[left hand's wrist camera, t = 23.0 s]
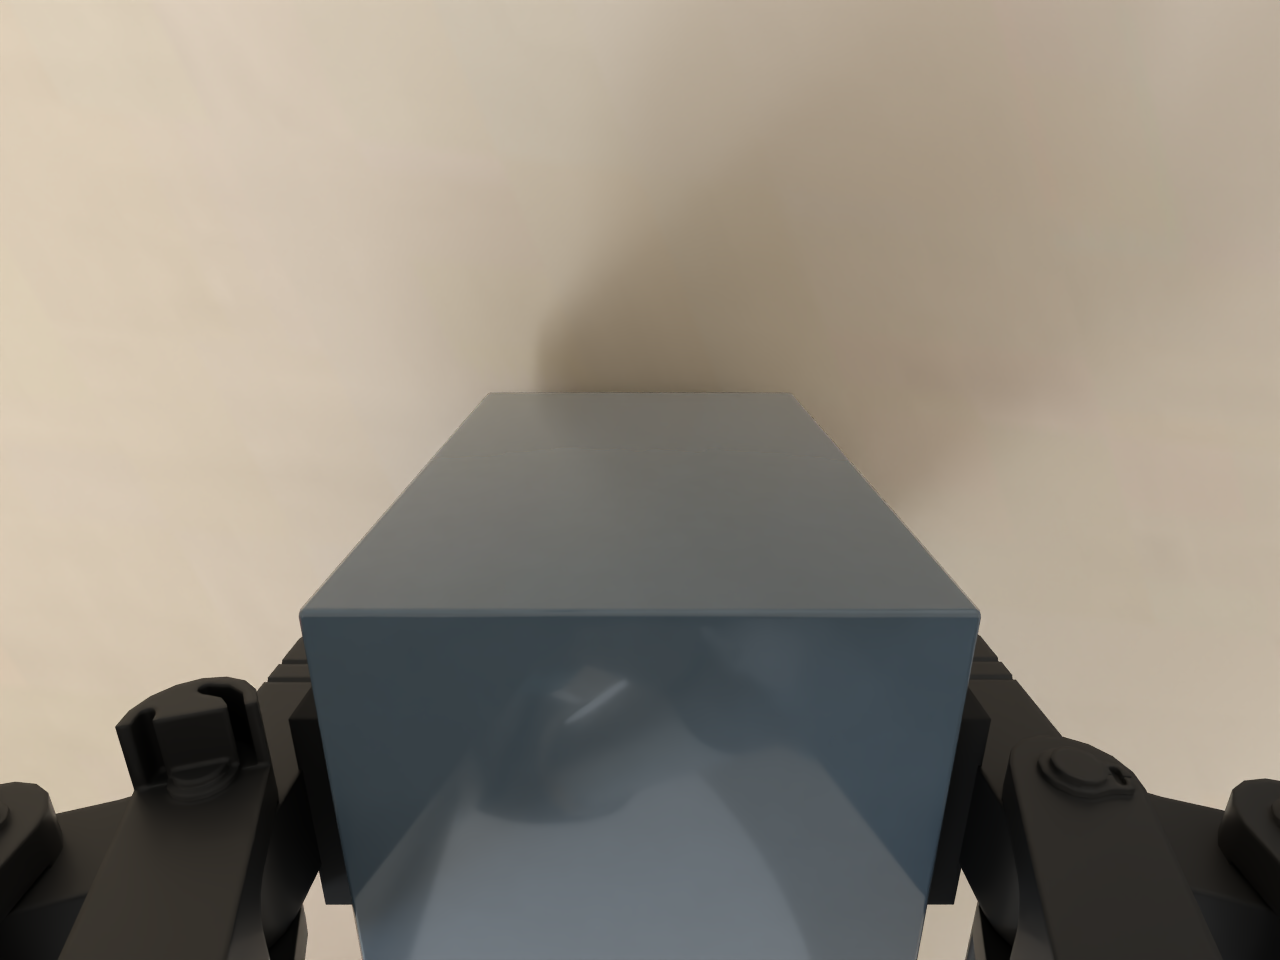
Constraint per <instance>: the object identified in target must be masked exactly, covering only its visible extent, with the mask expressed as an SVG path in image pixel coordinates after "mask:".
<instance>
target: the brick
mask: <svg viewBox="0 0 1280 960" xmlns="http://www.w3.org/2000/svg"><path fill="white" fill-rule="evenodd" d="M980 619H981V614H980V611H979V609H978V608H977V607H976V605H975V604H974V603H973V602H972V601H971V600H970V599H969V597H968V596H967V595H966V594H965V593H964V592H963V590H962V589H961V588H960V587H959V586H958V585H957V584H956V582H955V581H954V580H953V579H952V578H951V577H950V575H949V574H948V573H947V572H946V571H945V570H944V569H943V567H942V566H941V565H940V564H939V563H938V562H937V560H936V559H935V558H934V557H933V556H932V555H931V554H930V552H929V551H928V550H927V549H926V548H925V547H924V545H923V544H922V543H921V542H920V541H919V540H918V539H917V537H916V536H915V535H914V534H913V533H912V532H911V530H910V529H909V528H908V527H907V526H906V525H905V524H904V522H903V521H902V520H901V519H900V518H899V517H898V515H897V514H896V513H895V512H894V511H893V510H892V509H891V507H890V506H889V505H888V504H887V503H886V502H885V501H884V499H883V498H882V497H881V496H880V495H879V494H878V492H877V491H876V490H875V489H874V488H873V487H872V486H871V484H870V483H869V482H868V481H867V480H866V479H865V477H864V476H863V475H862V474H861V473H860V472H859V471H858V469H857V468H856V467H855V466H854V465H853V464H852V462H851V461H850V460H849V459H848V458H847V457H846V456H845V454H844V453H843V452H842V451H841V450H840V449H839V447H838V446H837V445H836V444H835V443H834V442H833V441H832V439H831V438H830V437H829V436H828V435H827V434H826V432H825V431H824V430H823V429H822V428H821V427H820V426H819V424H818V423H817V422H816V421H815V420H814V419H813V417H812V416H811V415H810V414H809V413H808V412H807V411H806V409H805V408H804V407H803V406H802V405H801V404H800V402H799V401H798V400H797V399H796V398H795V397H794V396H793V394H791V393H488V394H487V395H486V397H485V398H484V399H483V400H482V401H481V402H480V403H479V405H478V406H477V407H476V408H475V409H474V410H473V411H472V413H471V414H470V415H469V416H468V417H467V418H466V420H465V421H464V422H463V423H462V424H461V425H460V426H459V428H458V429H457V430H456V431H455V432H454V433H453V434H452V436H451V437H450V438H449V439H448V440H447V441H446V442H445V444H444V445H443V446H442V447H441V448H440V449H439V451H438V452H437V453H436V454H435V455H434V456H433V457H432V459H431V460H430V461H429V462H428V463H427V464H426V465H425V467H424V468H423V469H422V470H421V471H420V472H419V474H418V475H417V476H416V477H415V478H414V479H413V480H412V482H411V483H410V484H409V485H408V486H407V487H406V488H405V490H404V491H403V492H402V493H401V494H400V495H399V497H398V498H397V499H396V500H395V501H394V502H393V503H392V505H391V506H390V507H389V508H388V509H387V510H386V511H385V513H384V514H383V515H382V516H381V517H380V518H379V520H378V521H377V522H376V523H375V524H374V525H373V526H372V528H371V529H370V530H369V531H368V532H367V533H366V534H365V536H364V537H363V538H362V539H361V540H360V541H359V542H358V544H357V545H356V546H355V547H354V548H353V549H352V551H351V552H350V553H349V554H348V555H347V556H346V557H345V559H344V560H343V561H342V562H341V563H340V564H339V565H338V567H337V568H336V569H335V570H334V571H333V572H332V574H331V575H330V576H329V577H328V578H327V579H326V580H325V582H324V583H323V584H322V585H321V586H320V587H319V588H318V590H317V591H316V592H315V593H314V594H313V595H312V597H311V598H310V599H309V600H308V601H307V602H306V603H305V605H304V606H303V607H302V608H301V609H300V612H299V620H300V626H301V631H302V636H303V642H304V647H305V653H306V658H307V664H308V669H309V674H310V680H311V685H312V691H313V696H314V701H315V707H316V712H317V718H318V723H319V729H320V734H321V739H322V745H323V750H324V756H325V761H326V766H327V772H328V777H329V783H330V788H331V793H332V799H333V804H334V810H335V815H336V821H337V826H338V831H339V837H340V842H341V848H342V853H343V858H344V864H345V869H346V875H347V880H348V886H349V891H350V896H351V902H352V907H353V913H354V918H355V923H356V929H357V934H358V940H359V945H360V950H361V956H362V960H917V957H918V952H919V946H920V941H921V936H922V930H923V925H924V920H925V914H926V909H927V903H928V898H929V893H930V887H931V882H932V877H933V871H934V866H935V860H936V855H937V850H938V844H939V839H940V834H941V828H942V823H943V818H944V812H945V807H946V801H947V796H948V791H949V785H950V780H951V775H952V769H953V764H954V758H955V753H956V748H957V742H958V737H959V732H960V726H961V721H962V716H963V710H964V705H965V699H966V694H967V689H968V683H969V678H970V673H971V667H972V662H973V657H974V651H975V646H976V640H977V635H978V630H979V624H980Z"/></svg>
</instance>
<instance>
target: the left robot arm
mask: <svg viewBox="0 0 1280 960" xmlns="http://www.w3.org/2000/svg"><path fill="white" fill-rule="evenodd" d="M115 728H116V731H117V735H118V738H119V741H120V745H121V748H122V751H123V754H124V758H125V761H126V764H127V768H128V771H129V774H130V777H131V781H132V784H133V787H134V793H133V795H132V796H131V797H127V798H124V799H121V800H117V801H112V802H108V803H103V804H99V805H94V806H90V807H85V808H81V809H76V810H72V811H67V812H62V813H58V814H55V811H54V808H53V805H52V802H51V800H50V797H49V794H48V792H46V791H45V790H44V789H42V788H41V787H40V786H38V785H37V784H31V783H22V782H11V783H5V784H0V960H305V953H306V945H307V937H308V931H307V924H306V917H305V912H304V907H303V901H304V899H305V897H306V895H307V893H308V891H309V889H310V887H311V885H312V883H313V881H314V879H315V877H316V875H317V873H318V871H319V873H320V878H321V883H322V888H323V893H324V898H325V903H326V905H352V902H351V896H350V891H349V886H348V880H347V875H346V869H345V864H344V858H343V853H342V848H341V842H340V837H339V831H338V826H337V821H336V815H335V810H334V804H333V799H332V793H331V788H330V783H329V777H328V772H327V766H326V761H325V756H324V750H323V745H322V739H321V734H320V729H319V723H318V718H317V712H316V707H315V701H314V696H313V691H312V685H311V680H310V674H309V669H308V664H307V658H306V653H305V647H304V642H303V637H301V638H300V639H299V640H298V641H297V642H296V644H295V645H294V646H293V647H292V649H291V650H290V651H289V652H288V654H287V655H286V656H285V657H284V659H283V660H282V664H279V665H278V666H277V667H276V668H275V670H274V671H273V672H272V673H271V675H270V676H269V677H268V682H264V683H263V684H262V686H261V687H260V688H259V689H258V691H257V692H256V689H255V688H254V687H253V686H251V685H250V684H249V683H248V682H246V681H245V680H240V679H235V678H230V677H215V678H202V679H198V680H194V681H190V682H186V683H182V684H178V685H175V686H173V687H171V688H168V689H166V690H164V691H161V692H159V693H157V694H155V695H152V696H150V697H149V698H147V699H146V700H144V701H143V702H141V703H140V704H138V705H137V706H135V707H134V708H132V709H131V710H129V711H128V713H127V714H126V715H125V716H124V717H123V718H122V720H121V721H120V722H119V723H118V724H117V725H116V726H115ZM961 868H962V870H963V872H964V874H965V876H966V878H967V880H968V882H969V884H970V886H971V888H972V890H973V892H974V894H975V896H976V898H977V900H978V903H977V907H976V912H975V917H974V921H973V926H972V930H971V935H970V940H969V944H968V949H967V953H966V958H965V960H1280V781H1277V780H1271V779H1256V780H1246V781H1243V782H1242V783H1240V784H1239V785H1238V786H1236V787H1235V788H1234V789H1233V790H1232V792H1231V795H1230V798H1229V801H1228V804H1227V806H1226V809H1225V811H1223V810H1219V809H1214V808H1210V807H1205V806H1201V805H1196V804H1192V803H1187V802H1182V801H1178V800H1173V799H1169V798H1164V797H1160V796H1157V795H1153V794H1150V793H1147V791H1146V789H1145V788H1144V787H1143V785H1142V784H1141V782H1140V781H1139V780H1138V778H1137V777H1136V776H1135V774H1134V773H1133V772H1132V771H1131V770H1130V769H1128V768H1127V767H1126V766H1124V765H1123V764H1122V763H1121V762H1119V761H1118V760H1117V759H1115V758H1114V757H1113V756H1111V755H1109V754H1107V753H1105V752H1103V751H1101V750H1099V749H1097V748H1095V747H1093V746H1091V745H1089V744H1086V743H1082V742H1079V741H1075V740H1072V739H1069V738H1065V737H1062V736H1061V734H1060V733H1059V732H1058V731H1057V730H1056V728H1055V727H1054V726H1053V725H1052V723H1051V722H1050V721H1049V720H1048V719H1047V717H1046V716H1045V715H1044V714H1043V712H1042V711H1041V710H1040V709H1039V707H1038V706H1037V705H1036V704H1035V703H1034V701H1033V700H1032V699H1031V698H1030V696H1029V695H1028V694H1027V693H1026V692H1025V690H1024V689H1023V688H1022V687H1021V685H1020V684H1019V683H1018V682H1017V680H1013V679H1012V674H1011V673H1010V672H1009V671H1008V669H1007V668H1006V667H1005V666H1004V665H1003V663H1002V662H998V657H997V656H996V655H995V653H994V652H993V651H992V650H991V649H990V647H989V646H988V645H987V644H986V642H985V641H984V640H983V639H982V637H981V636H979V635H977V640H976V646H975V651H974V657H973V662H972V667H971V673H970V678H969V683H968V689H967V694H966V699H965V705H964V710H963V716H962V721H961V726H960V732H959V737H958V742H957V748H956V753H955V758H954V764H953V769H952V775H951V780H950V785H949V791H948V796H947V801H946V807H945V812H944V818H943V823H942V828H941V834H940V839H939V844H938V850H937V855H936V860H935V866H934V871H933V877H932V882H931V887H930V893H929V898H928V903H927V904H954V901H955V896H956V891H957V886H958V881H959V876H960V871H961Z"/></svg>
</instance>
